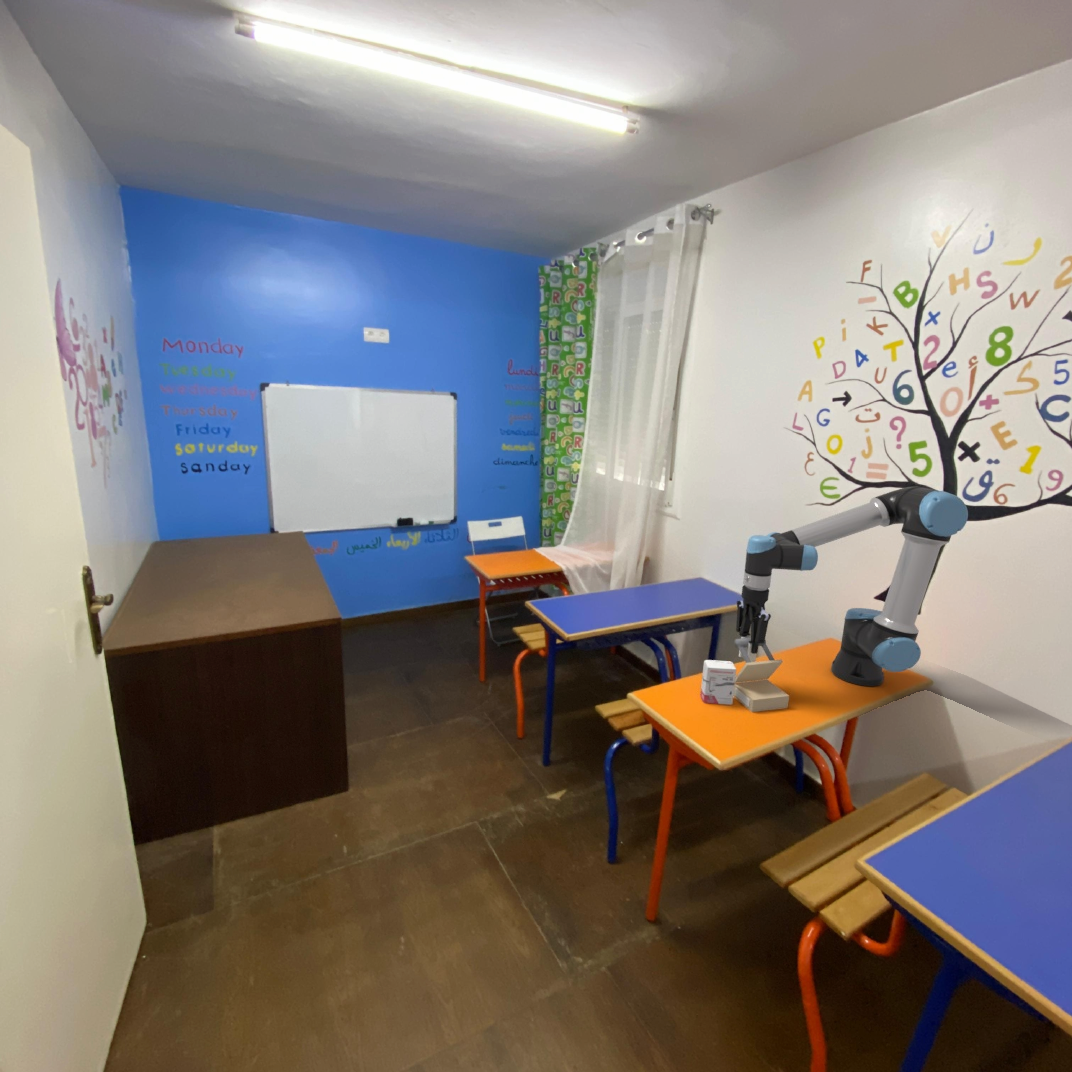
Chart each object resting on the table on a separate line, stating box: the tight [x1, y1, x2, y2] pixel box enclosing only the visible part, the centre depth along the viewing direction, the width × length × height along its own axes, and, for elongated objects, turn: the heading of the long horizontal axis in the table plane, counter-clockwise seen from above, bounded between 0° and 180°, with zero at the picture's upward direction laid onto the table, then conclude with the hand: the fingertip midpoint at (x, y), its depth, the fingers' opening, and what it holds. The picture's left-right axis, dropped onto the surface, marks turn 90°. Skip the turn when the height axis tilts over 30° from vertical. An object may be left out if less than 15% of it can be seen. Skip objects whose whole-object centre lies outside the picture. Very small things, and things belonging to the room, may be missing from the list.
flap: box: [734, 637, 784, 683], centre depth 164 cm, size 12×10×10 cm
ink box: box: [700, 659, 737, 706], centre depth 160 cm, size 9×5×12 cm, turn 85°
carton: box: [733, 679, 790, 713], centre depth 160 cm, size 12×10×4 cm
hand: (746, 659), depth 165 cm, fingers open, 3 cm apart
